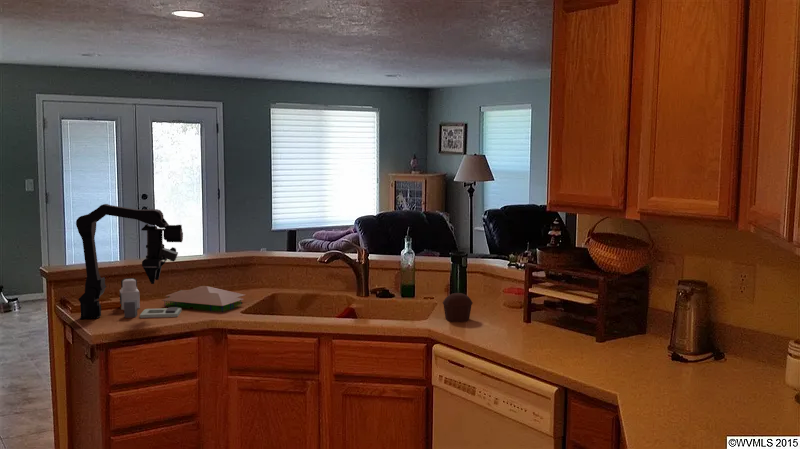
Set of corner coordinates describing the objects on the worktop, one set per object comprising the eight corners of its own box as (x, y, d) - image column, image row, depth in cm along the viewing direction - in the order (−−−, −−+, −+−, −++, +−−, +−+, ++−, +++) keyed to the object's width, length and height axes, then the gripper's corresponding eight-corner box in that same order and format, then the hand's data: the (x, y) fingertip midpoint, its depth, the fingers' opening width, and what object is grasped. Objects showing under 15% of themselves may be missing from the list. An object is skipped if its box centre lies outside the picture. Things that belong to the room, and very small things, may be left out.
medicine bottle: (120, 306, 301) (119, 278, 300) (138, 305, 304) (137, 276, 303) (121, 310, 295) (120, 280, 294) (139, 308, 298) (139, 279, 297)
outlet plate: (139, 317, 280) (139, 312, 280) (145, 311, 291) (145, 306, 291) (177, 316, 282) (177, 311, 282) (181, 310, 293) (181, 305, 293)
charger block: (124, 317, 281) (123, 302, 280) (126, 315, 285) (126, 300, 284) (135, 317, 282) (134, 302, 281) (137, 315, 285) (136, 300, 285)
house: (191, 297, 323) (191, 279, 322) (254, 303, 311) (254, 284, 310) (156, 307, 302) (155, 288, 301) (222, 313, 290) (222, 293, 289)
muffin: (458, 324, 271) (459, 297, 270) (436, 319, 278) (436, 293, 277) (478, 319, 279) (478, 293, 278) (456, 314, 287) (456, 289, 286)
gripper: (172, 245, 274) (172, 286, 275) (180, 239, 292) (180, 277, 294) (141, 244, 272) (141, 286, 274) (151, 239, 291) (151, 277, 292)
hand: (154, 281), depth 283 cm, fingers open, 9 cm apart
